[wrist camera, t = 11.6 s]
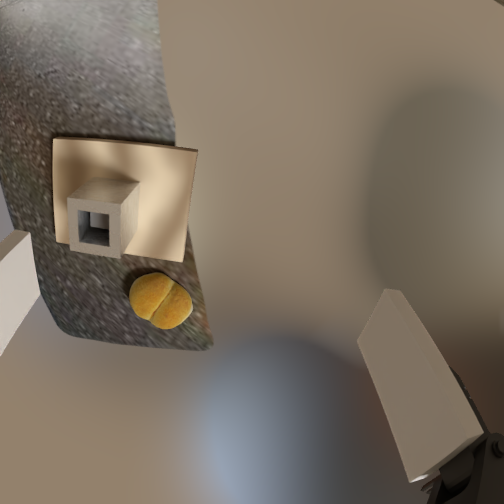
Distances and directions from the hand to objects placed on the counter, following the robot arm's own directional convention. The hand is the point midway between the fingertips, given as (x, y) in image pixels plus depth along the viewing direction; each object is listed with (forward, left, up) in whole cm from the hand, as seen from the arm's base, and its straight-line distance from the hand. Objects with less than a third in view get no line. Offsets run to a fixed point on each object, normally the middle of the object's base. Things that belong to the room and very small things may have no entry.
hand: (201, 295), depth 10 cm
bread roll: (-5, -22, -27) cm, 35 cm away
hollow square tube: (-12, -8, -25) cm, 29 cm away
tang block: (-12, -8, -27) cm, 30 cm away
